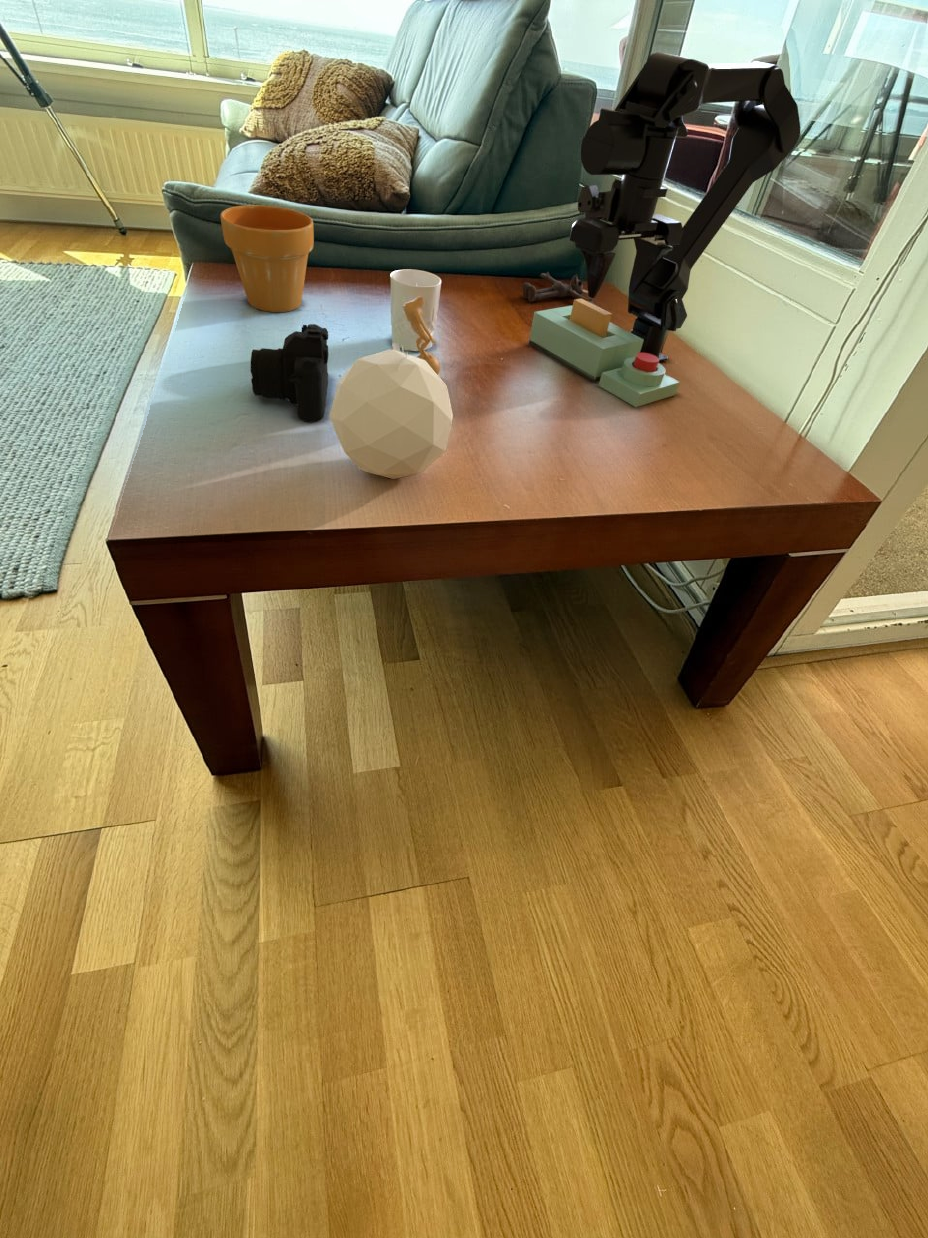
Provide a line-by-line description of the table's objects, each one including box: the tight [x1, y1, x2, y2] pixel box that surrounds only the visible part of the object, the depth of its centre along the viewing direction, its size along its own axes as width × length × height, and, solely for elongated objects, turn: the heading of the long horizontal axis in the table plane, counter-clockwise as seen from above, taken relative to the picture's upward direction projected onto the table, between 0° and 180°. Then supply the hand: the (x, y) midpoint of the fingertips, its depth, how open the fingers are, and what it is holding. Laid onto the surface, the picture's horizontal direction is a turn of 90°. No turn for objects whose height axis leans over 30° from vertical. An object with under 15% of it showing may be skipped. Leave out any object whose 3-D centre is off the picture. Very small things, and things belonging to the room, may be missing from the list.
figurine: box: [403, 296, 441, 376], centre depth 90 cm, size 8×6×12 cm
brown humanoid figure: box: [522, 271, 596, 305], centre depth 128 cm, size 18×4×14 cm
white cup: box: [389, 268, 443, 352], centre depth 101 cm, size 8×8×10 cm
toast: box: [570, 298, 613, 338], centre depth 105 cm, size 2×7×8 cm, turn 38°
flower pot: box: [220, 204, 315, 313], centre depth 105 cm, size 14×14×13 cm
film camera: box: [250, 323, 329, 423], centre depth 83 cm, size 15×10×9 cm, turn 5°
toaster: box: [527, 304, 644, 384], centre depth 106 cm, size 10×16×6 cm, turn 38°
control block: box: [598, 357, 681, 408], centre depth 100 cm, size 10×8×4 cm
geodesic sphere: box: [328, 342, 454, 480], centre depth 72 cm, size 15×14×14 cm
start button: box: [633, 353, 660, 372], centre depth 98 cm, size 4×4×2 cm
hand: (611, 294), depth 99 cm, fingers open, 9 cm apart
